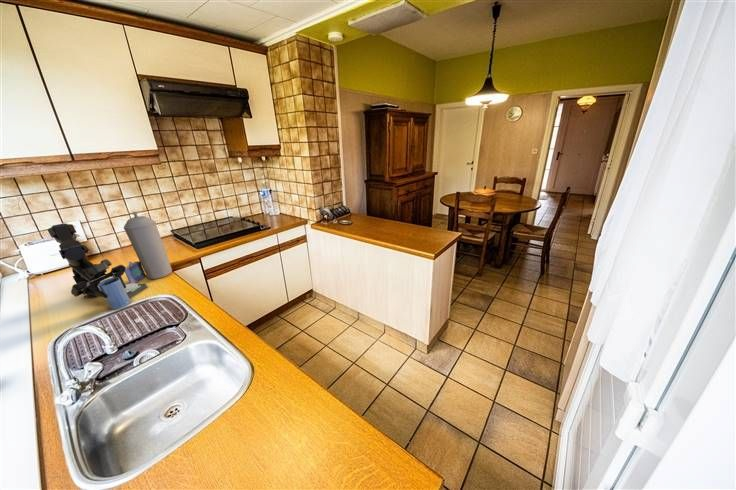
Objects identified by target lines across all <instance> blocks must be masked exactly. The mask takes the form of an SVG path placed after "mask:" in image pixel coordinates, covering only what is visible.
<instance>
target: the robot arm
mask: <svg viewBox="0 0 736 490" xmlns="http://www.w3.org/2000/svg"><path fill="white" fill-rule="evenodd" d="M46 230H47V232H48V234H49V236H50V237H51V238H52V239H54V240H55V242H56V243H59V245H58V247H59V250H58V252H59V255H60V256H61V258H62V259H63V260H66V261H67V263H68V266H69V268H71V271H72V273H73V275H72V278H73V280H74V283H75V284H73V285H72V287H71V291H70V294H71V295H73V297H75V298H76V297H79V296H81V295H82V296H83V298H97V297H100V298H103V299H104V298H107V295H106V294H104V293H103V292H102V291H100V289H99V288H98V286H97V285H98V283H100V282H102V281H104V280H106V279H110V278H115V277H118V278H120V280H121V282H122V284H123V286H124V288H126V285H125V284H126V283H125V282H124V279H123V277H122V276H123V275H124V274H125V269H126V267H127V266H125V265H124V264H118V265H115V266H113V267H112V268H111V269H110V266H112V262H111V261H110V260H109V259H108V258H105V259H102V260H101V261H100V262H99V263H98V264H97V263H93V262H92V261H90V260H89V256H88V255H87V254H88V253H89V252H90V249H89V248H88V246H86V245H85V244H82V243H81V242H80V240H77V237H78V236H77V235H76V233H77V230H76V228H75V227H74V225H73V223H72V224H71V223H58V224H53V225H51V227H49V228H48V229H46ZM107 269H110V271H109V272H108V270H107Z"/></svg>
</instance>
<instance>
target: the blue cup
mask: <svg viewBox="0 0 736 490" xmlns="http://www.w3.org/2000/svg"><path fill="white" fill-rule="evenodd" d="M97 286H98V288H99V289H100V291H102V292H103V293H104V294H106V295H107V298H103V299H104V301H105V303H106V304H107V307H108V308H109V310H119V309H122V308H124V307H126V306H128V305H129V304H130V303H131V301H132V300H131V298H129V296H128V294H127V292H126V290H125V288H124V286H123V284H122V282H121V280H120V278H118V277H115V278H112V277H109V278H107V279H105V280H103V281H101V282H100V283H98V285H97Z"/></svg>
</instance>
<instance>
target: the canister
mask: <svg viewBox="0 0 736 490" xmlns="http://www.w3.org/2000/svg"><path fill="white" fill-rule="evenodd" d="M138 214H139V212H138V211H135V212H132V213H131V215H133V217H130V218H129V219H127V220H126V223H125V224H124V225H123V230H124V232H125V234H126V236H127V237H128V240H129V243H130V244H131V246H132V248H133V250H134V252H135V255H136V257H137V258H138V261H140V263H141V265H142V268H143V270H144V272H145V275H146V277H147V278H148V279H149V280H157V279H158V280H159V279H161V278H165V277H166V276H169V275H170V274H171V273H172V272H173V268H172V265H171V262H170V260H169V257H168V254H167V251H166V248H165V245H164V243H163V240H162V237H161V234H160V232H159V228H158V226H157V223H156V222H157V221H155V220H154V219H152V218H150V217H148V216H145V215H141V216H138Z"/></svg>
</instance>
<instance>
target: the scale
mask: <svg viewBox="0 0 736 490" xmlns="http://www.w3.org/2000/svg"><path fill="white" fill-rule="evenodd" d="M125 285H126V288H125V290H126V292H127V294H128V296H129V298H130V299H132V298H134V297H135V296H137V295H138V294H139V293H141V292H143V291H145V290H146V289H147V288H148V285H147V283H138V282H136V283H131V284H130V283H125Z"/></svg>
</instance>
